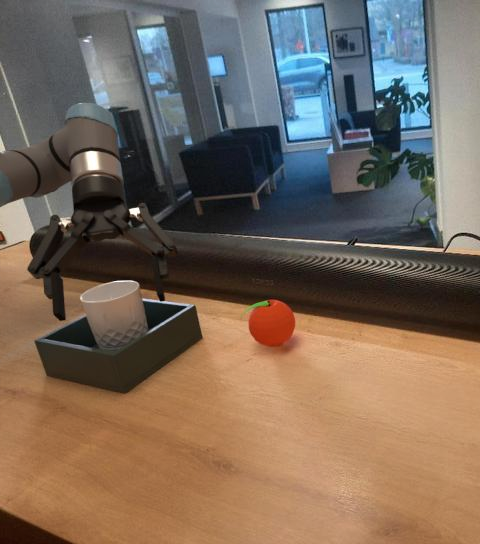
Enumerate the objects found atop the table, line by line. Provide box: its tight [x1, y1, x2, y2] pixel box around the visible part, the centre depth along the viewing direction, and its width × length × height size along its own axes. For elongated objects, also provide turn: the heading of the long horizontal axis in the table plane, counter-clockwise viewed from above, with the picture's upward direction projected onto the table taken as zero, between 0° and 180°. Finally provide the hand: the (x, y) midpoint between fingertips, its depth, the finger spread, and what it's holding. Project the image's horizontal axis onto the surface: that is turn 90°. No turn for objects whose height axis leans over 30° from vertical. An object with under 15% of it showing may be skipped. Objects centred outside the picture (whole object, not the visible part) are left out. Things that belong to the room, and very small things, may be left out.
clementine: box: [240, 299, 296, 348], centre depth 74 cm, size 8×7×7 cm
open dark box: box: [33, 298, 204, 394], centre depth 74 cm, size 16×16×6 cm
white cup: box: [79, 280, 148, 352], centre depth 73 cm, size 8×8×10 cm
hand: (111, 307), depth 72 cm, fingers open, 13 cm apart
